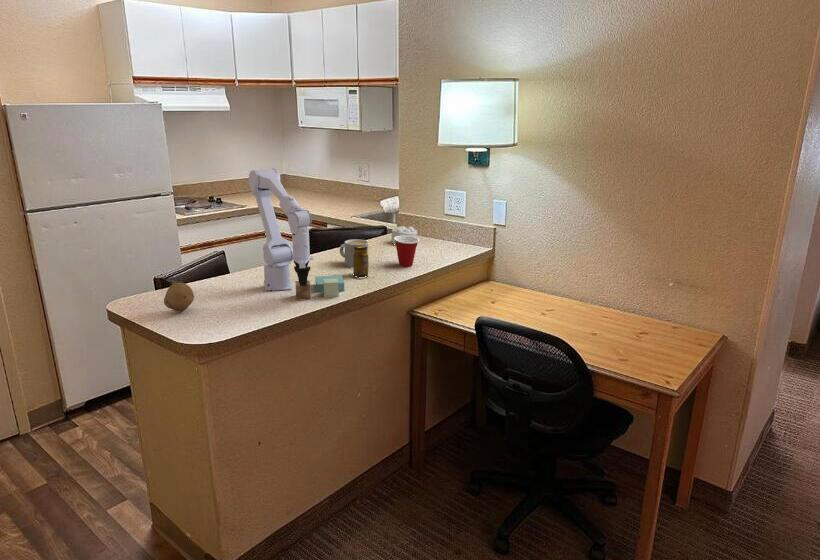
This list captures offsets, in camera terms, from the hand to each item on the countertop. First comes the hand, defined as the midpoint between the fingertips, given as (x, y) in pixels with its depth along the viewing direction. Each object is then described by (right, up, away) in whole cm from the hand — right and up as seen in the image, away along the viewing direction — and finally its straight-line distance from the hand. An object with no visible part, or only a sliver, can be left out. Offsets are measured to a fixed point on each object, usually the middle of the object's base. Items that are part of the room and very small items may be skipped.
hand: (302, 282), depth 205 cm
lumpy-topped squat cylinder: (+36, +18, +79) cm, 89 cm away
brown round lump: (-38, -10, -14) cm, 41 cm away
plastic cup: (+37, +7, +44) cm, 57 cm away
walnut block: (0, -5, +2) cm, 6 cm away
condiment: (+19, +2, +28) cm, 34 cm away
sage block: (+9, -5, +5) cm, 11 cm away
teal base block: (+8, -2, +13) cm, 15 cm away
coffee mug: (+14, +8, +45) cm, 47 cm away
